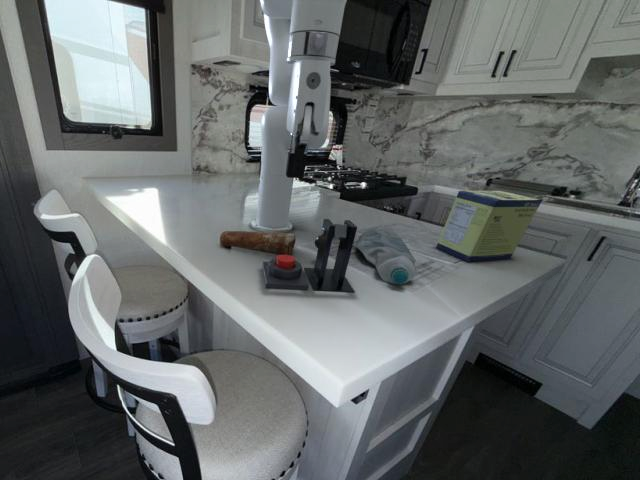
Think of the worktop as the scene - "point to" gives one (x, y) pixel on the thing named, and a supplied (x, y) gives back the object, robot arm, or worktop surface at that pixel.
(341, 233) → the lever
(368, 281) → the worktop surface
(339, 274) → the bracket
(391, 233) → the crushed plastic bottle
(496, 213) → the protein box
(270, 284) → the button block
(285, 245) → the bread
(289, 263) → the button
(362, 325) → the worktop surface
